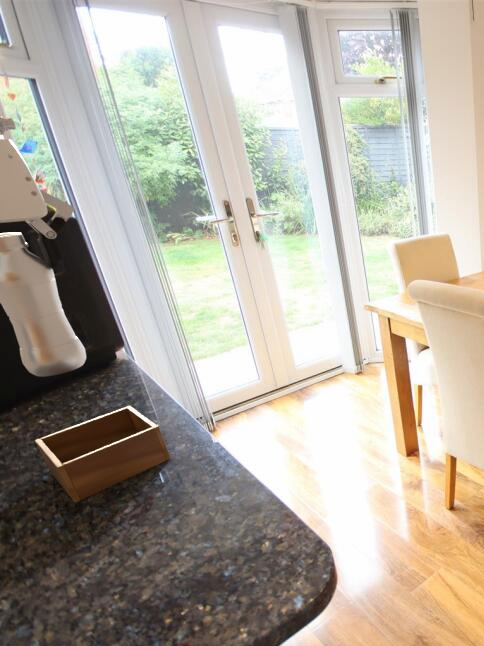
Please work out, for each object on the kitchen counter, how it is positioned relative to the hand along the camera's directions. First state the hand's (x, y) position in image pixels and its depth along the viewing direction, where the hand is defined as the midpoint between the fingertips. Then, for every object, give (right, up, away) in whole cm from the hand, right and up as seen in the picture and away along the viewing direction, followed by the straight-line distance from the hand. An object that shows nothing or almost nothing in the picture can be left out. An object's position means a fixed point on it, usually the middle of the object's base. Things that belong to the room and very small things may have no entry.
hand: (18, 271), depth 62 cm
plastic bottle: (0, -14, +6) cm, 15 cm away
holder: (+5, -29, +9) cm, 30 cm away
